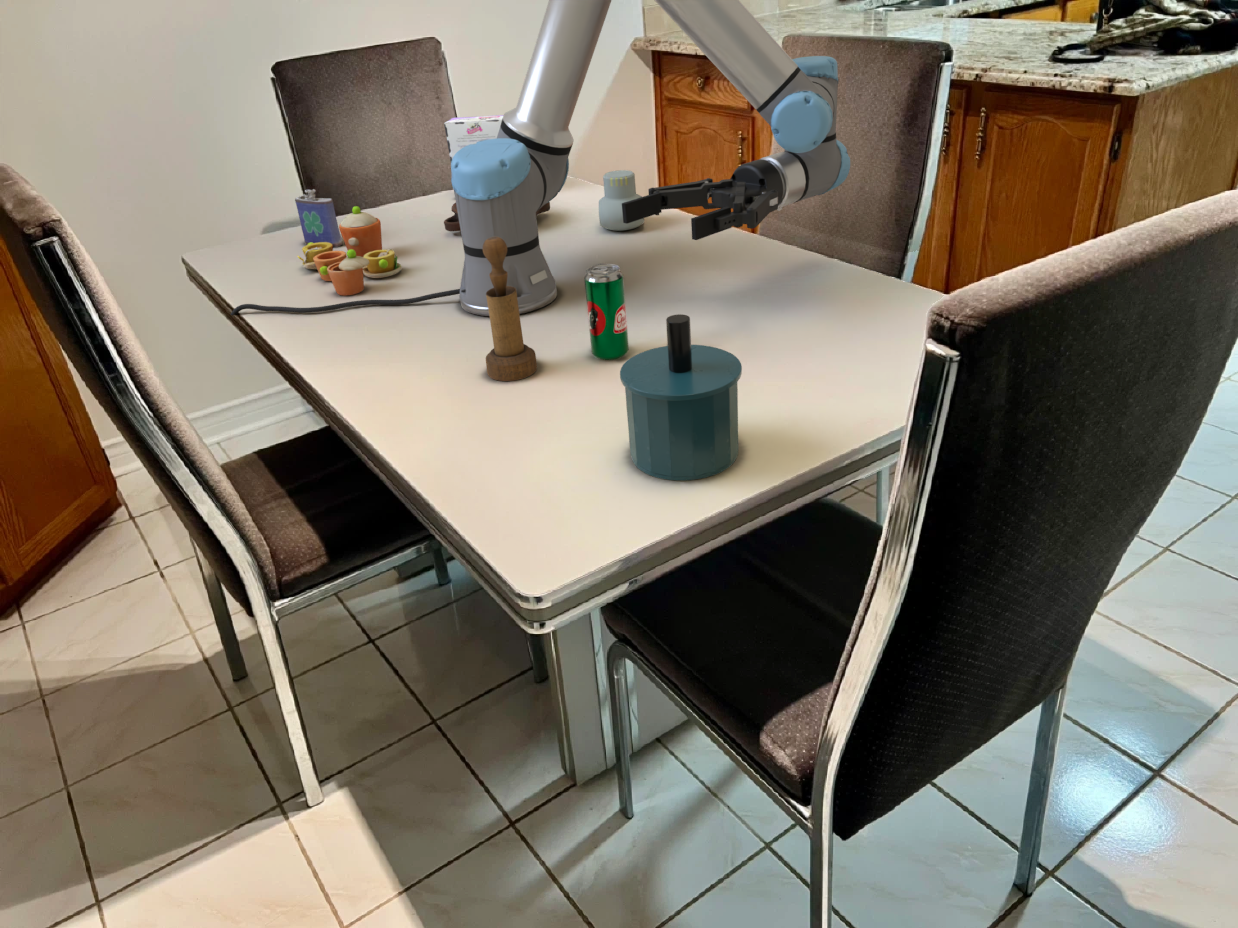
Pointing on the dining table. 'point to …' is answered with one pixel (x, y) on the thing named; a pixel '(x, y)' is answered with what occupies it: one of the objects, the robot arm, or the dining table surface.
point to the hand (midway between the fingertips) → (657, 221)
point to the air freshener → (617, 200)
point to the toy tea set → (353, 255)
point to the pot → (683, 435)
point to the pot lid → (680, 367)
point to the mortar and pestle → (505, 322)
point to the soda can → (606, 311)
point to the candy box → (470, 131)
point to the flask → (318, 219)
